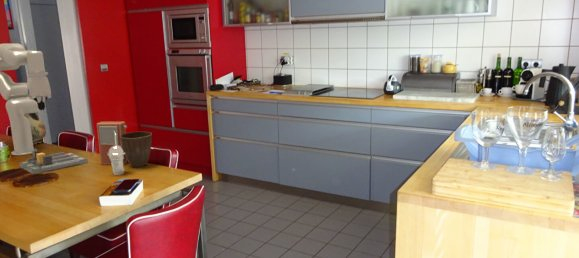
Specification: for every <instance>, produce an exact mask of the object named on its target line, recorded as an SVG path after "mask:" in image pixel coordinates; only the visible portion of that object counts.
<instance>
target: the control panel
mask: <svg viewBox="0 0 579 258" xmlns="http://www.w3.org/2000/svg"><path fill="white" fill-rule="evenodd" d="M96 128H97V129H96V131H97V140H98V150H99V157H100V160H99V161H100V164H101V165H112V164H111V160H110V158H109V156H108V155H107V153H108V152H109V149H110V148H111V147H112V146H114V145H115V135H114V131H115V133H116V140H117V145H120V146H122V147H123V145H122V141H121V137H120V136H121V135H123V134H126V133H127V132H126V131H127V130H126V129H127V128H128V126H127V125H126V122H125V121H99V122H97V123H96ZM123 149H124V148H123ZM127 161H128V162H129V160H128V158H127V156H126V154H125V158H124V165H125V163H126V162H127ZM128 162H127V163H128ZM127 163H126V164H127Z"/></svg>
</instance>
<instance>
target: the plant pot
mask: <svg viewBox="0 0 579 258" xmlns="http://www.w3.org/2000/svg"><path fill="white" fill-rule="evenodd" d="M152 136H153V133H152V132H149V131H133V132H128V133H127V132H126V134H123V135H121V136H120V137H121V141H122V145H123V148H124V150H125V151H126V156H127V158H128V163H129V164H130V166H131V167H132V166H133V167H132V168H142V167H141V166H143V167H145V166H144V165H146V164H147V165H148V162H149V158H150V155H151V154H150V153H151V148H152ZM147 165H146V166H147Z"/></svg>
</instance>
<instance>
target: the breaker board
mask: <svg viewBox="0 0 579 258" xmlns="http://www.w3.org/2000/svg"><path fill="white" fill-rule="evenodd" d="M38 153H42V151H41V150H38V149H37V151H32V157H30V158H26V161H21V162H18V165H19V168H21V169H23V170H25V171H26V170H27V171H26V172H28V173H30V174H32V175H35V174H39V173H45V172H49V171H55V170H60V169H63V168H68V167H73V166H79V165H83V164H87V163H88V159H87V157H86V158H85V157H83V156H81V155H78V154H77V153H73V152H69V153H65V152H58V153H52V154H45V156H42V157H43V162H41V163H36V164H35V162H36V161H37V157H36V154H38Z"/></svg>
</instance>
